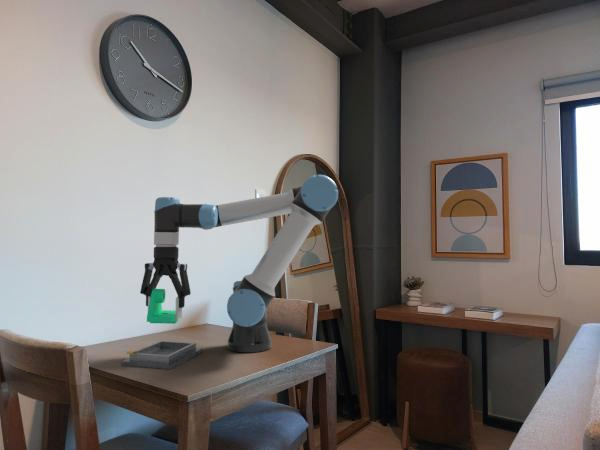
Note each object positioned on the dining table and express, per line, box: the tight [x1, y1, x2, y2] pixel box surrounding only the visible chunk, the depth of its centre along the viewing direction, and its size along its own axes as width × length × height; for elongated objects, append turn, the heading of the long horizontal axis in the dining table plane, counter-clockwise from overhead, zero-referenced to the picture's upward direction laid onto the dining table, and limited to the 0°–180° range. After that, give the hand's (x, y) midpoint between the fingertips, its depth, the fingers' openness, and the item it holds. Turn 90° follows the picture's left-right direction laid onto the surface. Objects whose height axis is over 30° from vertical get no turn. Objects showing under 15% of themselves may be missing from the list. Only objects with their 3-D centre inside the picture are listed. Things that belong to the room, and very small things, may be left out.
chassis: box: [121, 340, 203, 370], centre depth 135 cm, size 16×20×4 cm
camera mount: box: [146, 288, 179, 325], centre depth 135 cm, size 12×8×10 cm, turn 4°
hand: (164, 317), depth 135 cm, fingers closed on camera mount, 9 cm apart
